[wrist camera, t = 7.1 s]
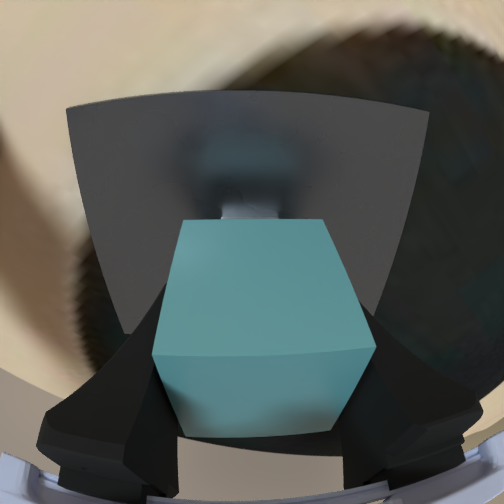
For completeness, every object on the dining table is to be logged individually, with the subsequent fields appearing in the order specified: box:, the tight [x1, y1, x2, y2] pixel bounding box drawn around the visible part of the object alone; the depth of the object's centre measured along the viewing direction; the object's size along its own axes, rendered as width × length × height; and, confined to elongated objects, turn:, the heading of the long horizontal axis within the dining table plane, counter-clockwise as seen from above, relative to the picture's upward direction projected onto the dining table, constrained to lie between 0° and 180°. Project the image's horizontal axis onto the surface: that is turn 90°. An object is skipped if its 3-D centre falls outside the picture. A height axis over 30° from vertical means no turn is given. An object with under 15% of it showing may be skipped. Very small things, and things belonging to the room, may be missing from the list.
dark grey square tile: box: [66, 90, 429, 334], centre depth 13 cm, size 16×14×7 cm
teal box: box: [152, 219, 376, 437], centre depth 11 cm, size 5×5×6 cm
